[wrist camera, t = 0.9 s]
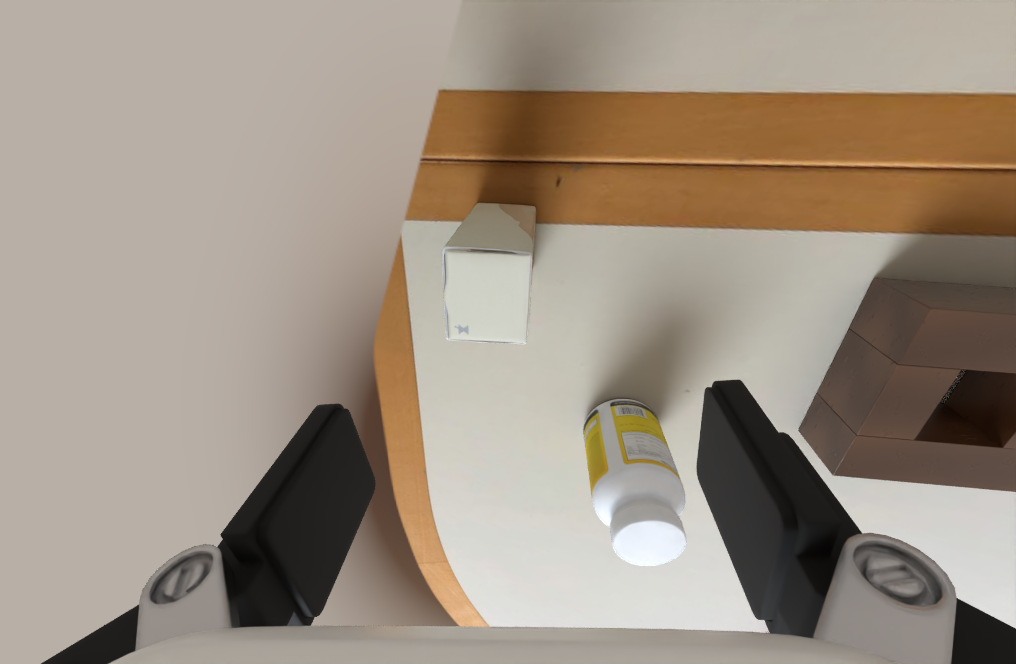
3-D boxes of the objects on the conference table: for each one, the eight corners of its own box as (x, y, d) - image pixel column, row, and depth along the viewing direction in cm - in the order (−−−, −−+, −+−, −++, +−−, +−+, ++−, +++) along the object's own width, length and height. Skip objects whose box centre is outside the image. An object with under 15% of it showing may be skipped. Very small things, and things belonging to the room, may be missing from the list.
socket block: (873, 277, 30) (931, 308, 25) (1083, 292, 29) (1179, 326, 25) (798, 430, 36) (832, 475, 32) (967, 445, 36) (1026, 493, 31)
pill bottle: (588, 455, 40) (604, 578, 29) (577, 400, 37) (590, 516, 26) (660, 446, 38) (703, 571, 28) (654, 389, 35) (699, 505, 25)
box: (532, 274, 31) (527, 351, 22) (474, 270, 32) (443, 346, 22) (537, 201, 29) (533, 252, 19) (473, 197, 29) (439, 247, 19)
